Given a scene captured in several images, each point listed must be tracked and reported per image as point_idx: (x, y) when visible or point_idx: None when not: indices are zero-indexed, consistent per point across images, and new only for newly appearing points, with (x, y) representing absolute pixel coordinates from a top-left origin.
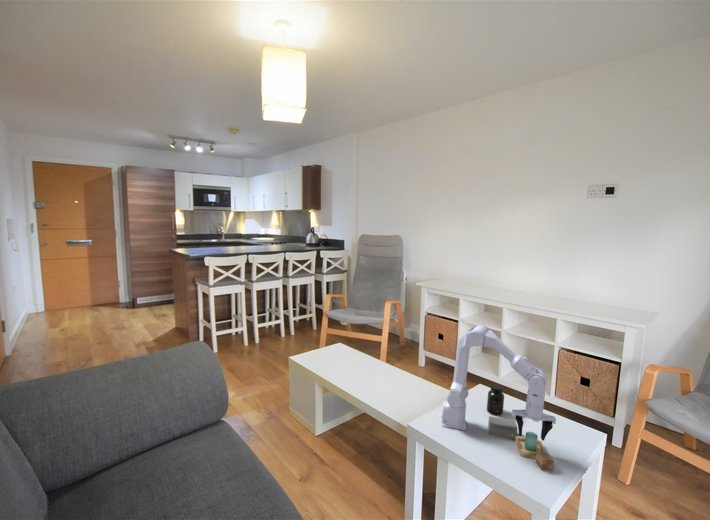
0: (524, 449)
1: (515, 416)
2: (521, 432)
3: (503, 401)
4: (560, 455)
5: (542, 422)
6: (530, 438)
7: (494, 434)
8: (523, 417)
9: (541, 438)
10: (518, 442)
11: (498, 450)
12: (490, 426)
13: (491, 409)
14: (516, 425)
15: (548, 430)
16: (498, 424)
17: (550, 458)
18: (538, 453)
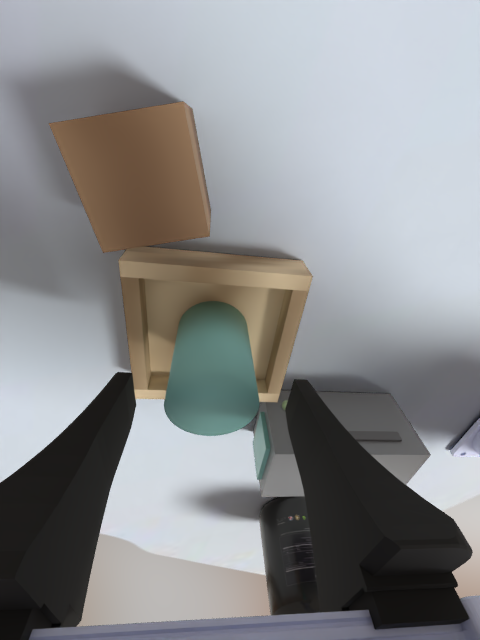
0: (254, 313)
1: (473, 610)
2: (313, 407)
3: (274, 579)
4: (30, 317)
5: (89, 562)
6: (233, 368)
7: (369, 396)
8: (349, 613)
9: (133, 391)
10: (284, 353)
11: (416, 281)
12: (413, 433)
13: None
14: (271, 467)
15: (23, 477)
16: (384, 453)
17: (86, 156)
18: (196, 219)
